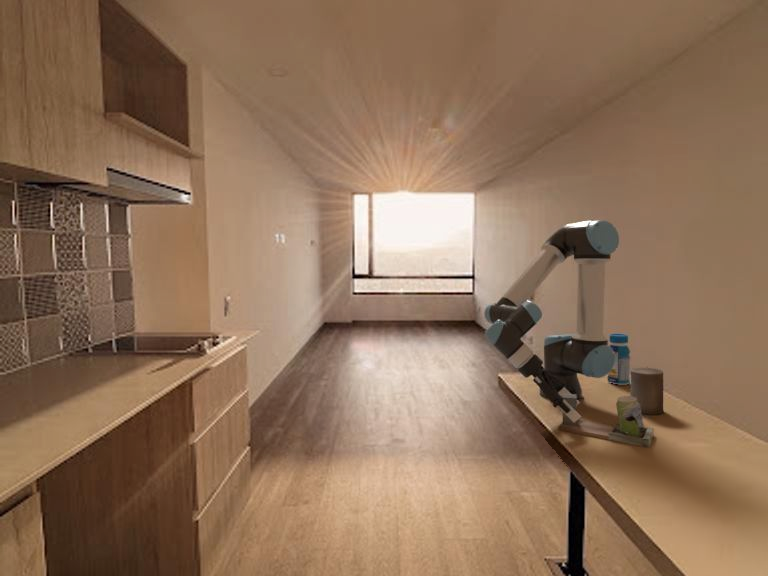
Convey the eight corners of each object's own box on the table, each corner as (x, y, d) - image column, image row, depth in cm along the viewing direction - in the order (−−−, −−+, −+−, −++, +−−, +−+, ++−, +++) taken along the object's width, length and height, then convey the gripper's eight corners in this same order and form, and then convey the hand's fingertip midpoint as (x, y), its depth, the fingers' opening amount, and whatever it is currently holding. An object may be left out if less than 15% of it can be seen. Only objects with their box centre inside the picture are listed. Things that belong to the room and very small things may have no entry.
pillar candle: (670, 412, 153) (670, 367, 152) (651, 417, 148) (651, 371, 148) (642, 404, 161) (642, 362, 161) (623, 409, 157) (623, 365, 156)
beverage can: (649, 442, 128) (649, 400, 128) (623, 443, 128) (623, 401, 127) (636, 434, 135) (637, 394, 134) (611, 435, 134) (612, 394, 134)
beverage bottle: (629, 386, 183) (629, 337, 182) (606, 384, 187) (606, 335, 186) (630, 381, 190) (630, 333, 189) (608, 379, 195) (608, 332, 193)
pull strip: (565, 419, 147) (565, 390, 147) (653, 435, 133) (653, 403, 132) (556, 429, 140) (556, 398, 139) (648, 447, 125) (649, 413, 124)
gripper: (520, 360, 158) (567, 407, 154) (512, 378, 135) (567, 434, 131) (536, 346, 156) (584, 393, 151) (531, 361, 133) (588, 417, 128)
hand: (577, 412), depth 141 cm, fingers open, 13 cm apart
